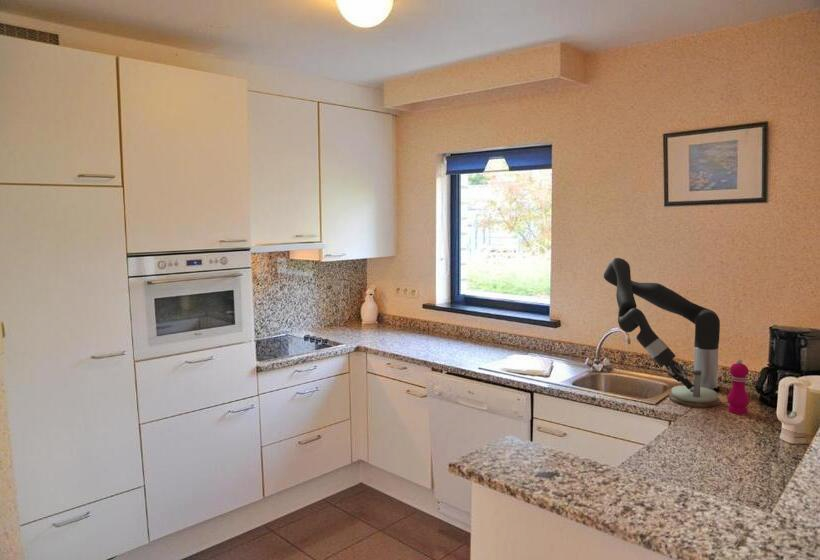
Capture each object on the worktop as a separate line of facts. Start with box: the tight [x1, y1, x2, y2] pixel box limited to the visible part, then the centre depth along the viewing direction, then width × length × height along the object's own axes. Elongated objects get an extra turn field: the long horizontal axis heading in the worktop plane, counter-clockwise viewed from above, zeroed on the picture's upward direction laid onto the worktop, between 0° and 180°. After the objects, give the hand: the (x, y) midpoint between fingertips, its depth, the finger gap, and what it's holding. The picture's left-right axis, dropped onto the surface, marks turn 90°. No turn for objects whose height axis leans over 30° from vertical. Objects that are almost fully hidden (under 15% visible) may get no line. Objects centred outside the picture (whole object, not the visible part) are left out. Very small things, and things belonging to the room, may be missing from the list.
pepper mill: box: [726, 359, 750, 415], centre depth 218 cm, size 7×7×20 cm
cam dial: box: [670, 369, 718, 403], centre depth 232 cm, size 16×16×12 cm
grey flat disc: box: [668, 391, 720, 409], centre depth 233 cm, size 18×18×2 cm
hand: (691, 387), depth 226 cm, fingers closed
